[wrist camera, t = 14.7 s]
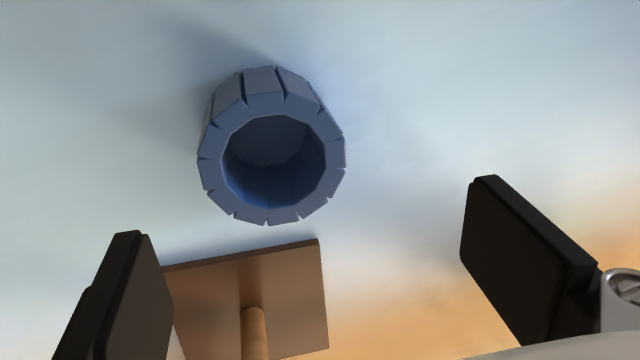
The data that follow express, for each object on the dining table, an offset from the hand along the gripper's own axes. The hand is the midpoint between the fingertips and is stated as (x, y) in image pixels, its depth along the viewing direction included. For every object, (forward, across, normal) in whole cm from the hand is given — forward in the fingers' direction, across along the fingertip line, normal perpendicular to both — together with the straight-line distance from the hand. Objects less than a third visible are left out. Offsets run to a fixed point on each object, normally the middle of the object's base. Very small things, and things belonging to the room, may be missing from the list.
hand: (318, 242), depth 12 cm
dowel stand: (+11, +4, +14) cm, 18 cm away
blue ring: (+11, +1, +1) cm, 11 cm away
